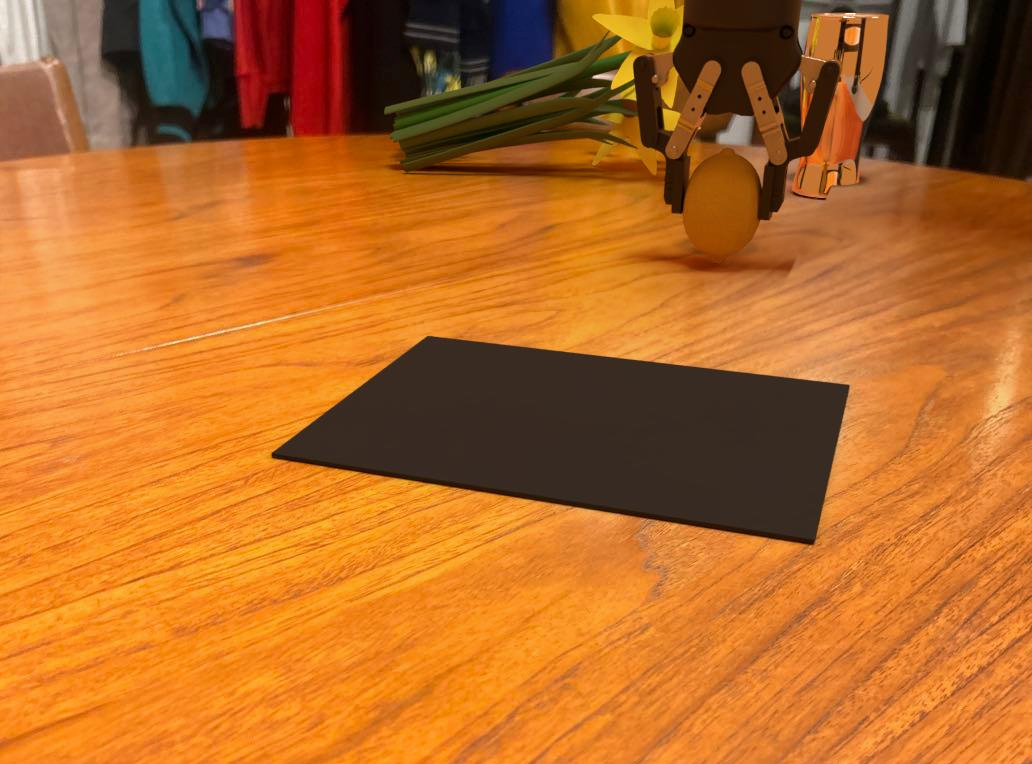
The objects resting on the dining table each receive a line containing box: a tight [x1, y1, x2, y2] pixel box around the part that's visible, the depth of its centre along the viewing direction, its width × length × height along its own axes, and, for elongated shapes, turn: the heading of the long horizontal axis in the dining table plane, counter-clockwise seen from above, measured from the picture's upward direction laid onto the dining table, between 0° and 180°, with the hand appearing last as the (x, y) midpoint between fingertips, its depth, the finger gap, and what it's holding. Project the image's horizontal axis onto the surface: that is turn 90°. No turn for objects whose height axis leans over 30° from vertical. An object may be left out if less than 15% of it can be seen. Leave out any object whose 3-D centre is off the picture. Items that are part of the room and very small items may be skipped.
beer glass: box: [791, 12, 890, 198], centre depth 98 cm, size 7×7×15 cm
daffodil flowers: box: [384, 0, 702, 176], centre depth 108 cm, size 17×15×35 cm
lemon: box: [682, 147, 762, 264], centre depth 77 cm, size 6×6×8 cm
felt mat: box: [271, 335, 851, 545], centre depth 53 cm, size 24×18×1 cm
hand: (722, 213), depth 78 cm, fingers closed on lemon, 5 cm apart
